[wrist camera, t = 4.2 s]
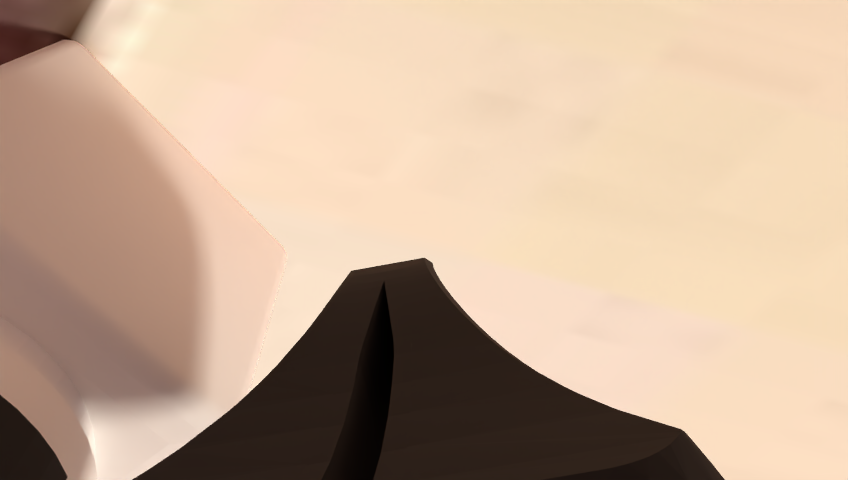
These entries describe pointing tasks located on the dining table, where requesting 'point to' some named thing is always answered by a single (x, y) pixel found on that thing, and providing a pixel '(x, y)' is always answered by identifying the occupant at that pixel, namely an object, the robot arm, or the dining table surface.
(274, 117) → the dining table surface
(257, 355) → the medicine bottle
